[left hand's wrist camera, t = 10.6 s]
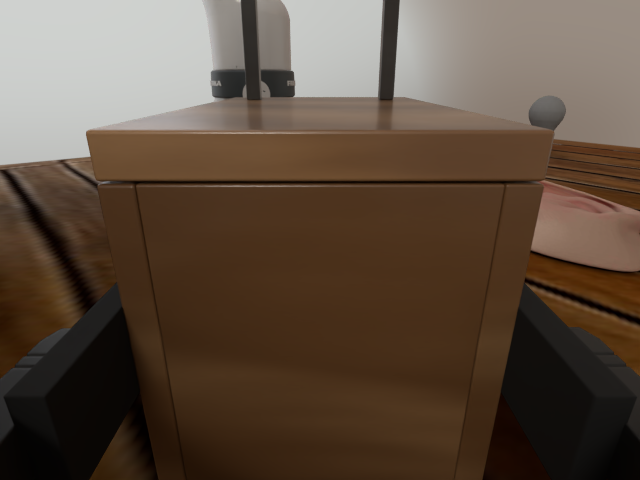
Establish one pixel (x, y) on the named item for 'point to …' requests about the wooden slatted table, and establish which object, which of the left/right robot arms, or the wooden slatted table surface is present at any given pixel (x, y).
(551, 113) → the light bulb
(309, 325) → the chest
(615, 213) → the anatomical model
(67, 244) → the wooden slatted table surface
